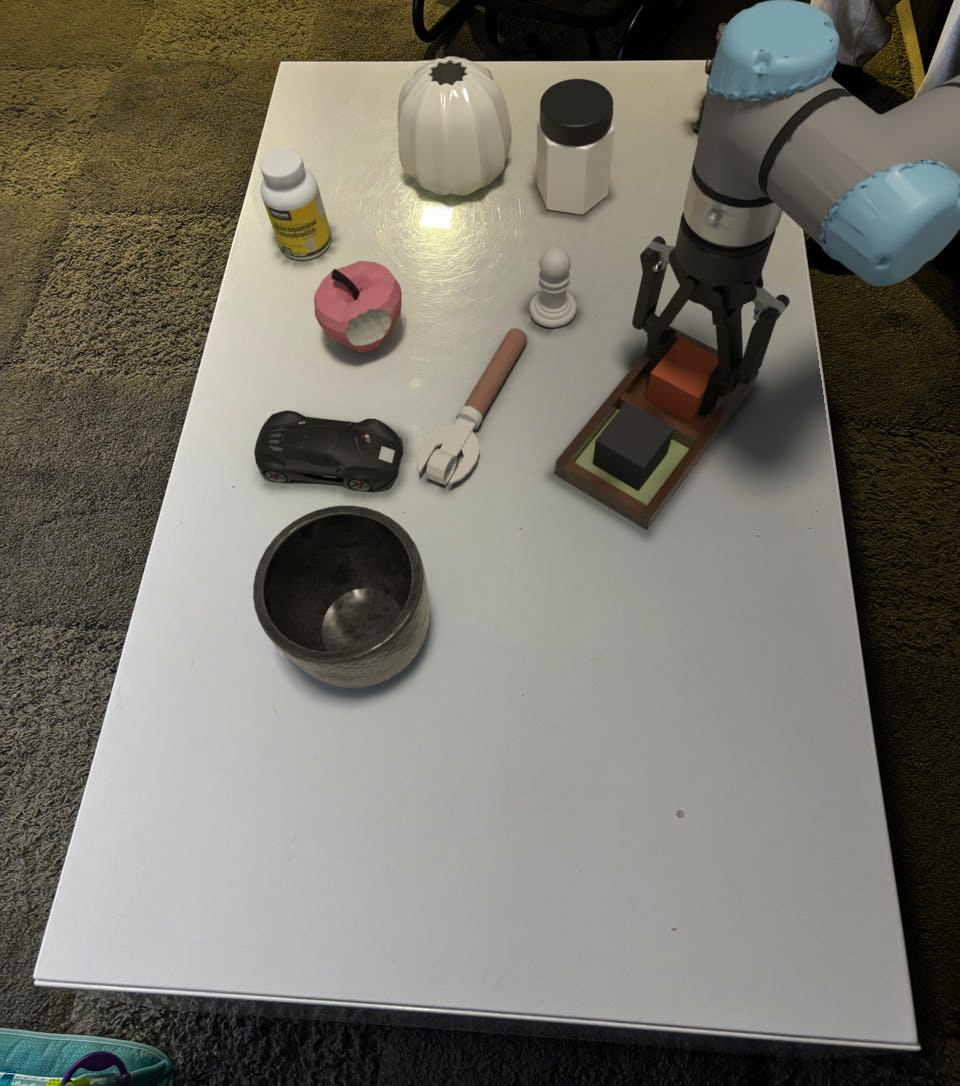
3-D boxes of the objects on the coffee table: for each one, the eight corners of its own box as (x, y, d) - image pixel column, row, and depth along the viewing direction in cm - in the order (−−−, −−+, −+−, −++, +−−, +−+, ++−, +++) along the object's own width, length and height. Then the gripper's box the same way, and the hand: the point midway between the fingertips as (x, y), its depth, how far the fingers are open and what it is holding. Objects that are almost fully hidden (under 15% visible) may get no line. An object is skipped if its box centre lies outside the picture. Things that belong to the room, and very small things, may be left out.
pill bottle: (271, 257, 100) (241, 177, 89) (292, 219, 102) (265, 137, 92) (321, 266, 98) (295, 186, 88) (340, 228, 101) (318, 146, 90)
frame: (753, 386, 87) (759, 371, 85) (647, 530, 81) (650, 517, 78) (664, 340, 91) (667, 324, 88) (554, 474, 84) (555, 461, 82)
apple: (336, 379, 91) (315, 318, 82) (318, 322, 95) (296, 257, 86) (419, 354, 92) (406, 291, 83) (398, 299, 95) (384, 232, 86)
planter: (458, 585, 79) (445, 524, 67) (412, 724, 73) (389, 683, 62) (325, 551, 82) (290, 487, 70) (271, 683, 76) (223, 637, 64)
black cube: (667, 453, 83) (674, 428, 79) (638, 491, 82) (643, 468, 77) (621, 427, 85) (626, 401, 81) (592, 464, 83) (595, 440, 79)
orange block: (717, 388, 87) (726, 361, 83) (690, 424, 85) (698, 398, 81) (672, 364, 88) (679, 336, 84) (645, 399, 87) (650, 372, 82)
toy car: (394, 495, 84) (387, 473, 80) (254, 480, 86) (241, 458, 82) (407, 434, 87) (401, 410, 83) (272, 421, 89) (260, 397, 85)
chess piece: (585, 315, 93) (590, 255, 85) (546, 336, 92) (547, 278, 84) (558, 286, 95) (561, 225, 87) (520, 306, 94) (518, 246, 86)
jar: (615, 208, 100) (625, 119, 89) (550, 223, 99) (553, 135, 88) (592, 159, 104) (599, 68, 93) (530, 173, 103) (530, 84, 92)
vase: (445, 227, 100) (433, 129, 88) (383, 166, 105) (363, 66, 93) (534, 175, 103) (534, 74, 91) (469, 119, 108) (461, 16, 96)
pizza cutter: (494, 336, 93) (493, 316, 90) (543, 352, 92) (544, 333, 89) (409, 475, 85) (406, 459, 82) (462, 496, 83) (460, 480, 81)
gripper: (606, 200, 67) (588, 375, 88) (813, 298, 61) (742, 460, 82) (655, 146, 69) (626, 329, 90) (859, 236, 64) (779, 409, 85)
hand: (682, 391), depth 86 cm, fingers closed on orange block, 5 cm apart
